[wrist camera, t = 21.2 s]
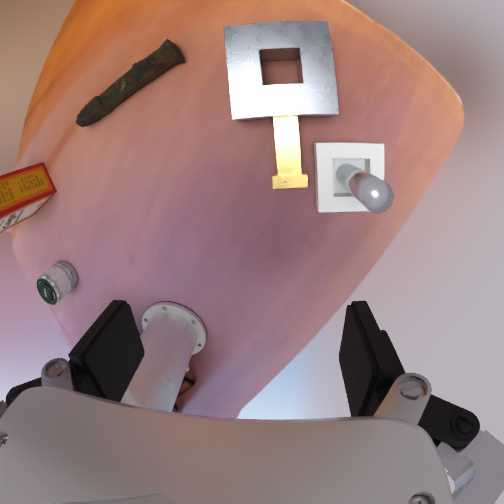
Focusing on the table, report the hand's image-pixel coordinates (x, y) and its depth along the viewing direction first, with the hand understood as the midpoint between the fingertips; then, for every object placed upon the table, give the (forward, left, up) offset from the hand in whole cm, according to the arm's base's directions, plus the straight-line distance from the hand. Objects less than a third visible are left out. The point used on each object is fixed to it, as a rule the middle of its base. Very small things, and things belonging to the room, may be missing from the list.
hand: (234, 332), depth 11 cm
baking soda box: (+6, +43, -30) cm, 52 cm away
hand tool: (+17, +18, -30) cm, 39 cm away
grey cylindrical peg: (+1, -11, -29) cm, 31 cm away
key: (+7, -3, -29) cm, 30 cm away
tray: (+2, -11, -30) cm, 32 cm away
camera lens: (-12, +41, -30) cm, 52 cm away
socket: (+16, -3, -30) cm, 34 cm away
